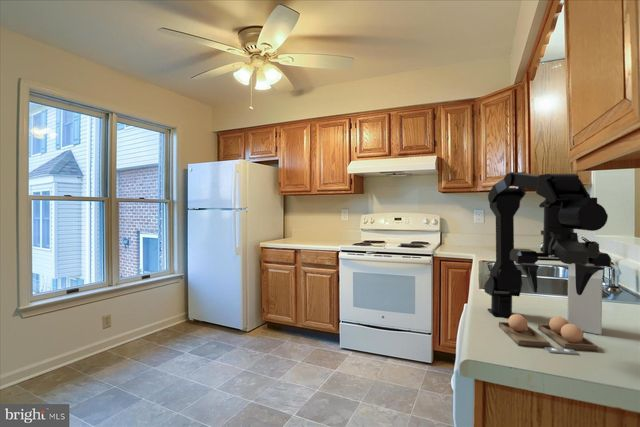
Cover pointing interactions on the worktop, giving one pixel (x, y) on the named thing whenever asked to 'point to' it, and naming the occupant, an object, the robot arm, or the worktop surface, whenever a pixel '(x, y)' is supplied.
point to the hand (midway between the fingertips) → (556, 293)
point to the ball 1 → (517, 322)
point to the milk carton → (585, 302)
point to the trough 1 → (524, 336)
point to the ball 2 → (557, 324)
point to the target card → (561, 350)
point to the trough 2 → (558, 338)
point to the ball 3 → (572, 333)
